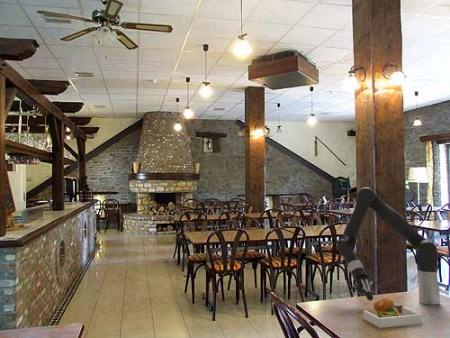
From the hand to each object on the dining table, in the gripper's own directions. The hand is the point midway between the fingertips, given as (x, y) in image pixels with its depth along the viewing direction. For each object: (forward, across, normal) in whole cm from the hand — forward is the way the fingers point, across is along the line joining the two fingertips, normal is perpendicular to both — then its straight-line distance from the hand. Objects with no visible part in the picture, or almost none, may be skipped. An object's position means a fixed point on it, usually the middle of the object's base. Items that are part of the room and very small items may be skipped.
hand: (371, 299), depth 199 cm
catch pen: (+16, 0, -9) cm, 18 cm away
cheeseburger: (+13, 0, -5) cm, 14 cm away
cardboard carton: (+6, +12, +1) cm, 13 cm away
